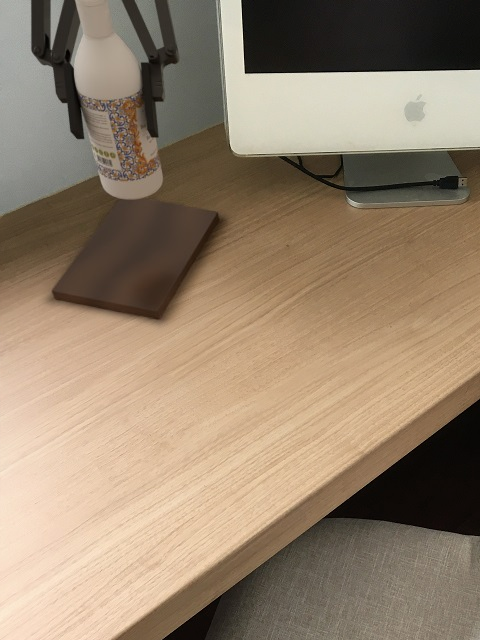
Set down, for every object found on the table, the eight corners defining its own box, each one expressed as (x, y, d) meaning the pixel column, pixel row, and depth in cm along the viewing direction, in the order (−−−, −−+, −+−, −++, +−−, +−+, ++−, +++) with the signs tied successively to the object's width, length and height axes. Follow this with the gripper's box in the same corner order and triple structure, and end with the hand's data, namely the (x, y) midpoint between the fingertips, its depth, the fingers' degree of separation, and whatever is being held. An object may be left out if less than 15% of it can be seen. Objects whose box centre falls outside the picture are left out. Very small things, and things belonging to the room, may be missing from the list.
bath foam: (151, 206, 88) (109, 13, 72) (92, 196, 89) (38, 3, 73) (172, 172, 92) (137, -18, 76) (116, 163, 93) (70, -27, 77)
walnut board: (54, 298, 91) (51, 290, 90) (125, 202, 103) (123, 194, 102) (159, 319, 90) (157, 311, 89) (219, 219, 102) (218, 211, 101)
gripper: (-29, -135, 74) (3, 125, 78) (187, -132, 76) (208, 121, 80) (-1, -89, 81) (28, 147, 85) (195, -87, 83) (214, 142, 87)
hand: (115, 134), depth 82 cm, fingers closed on bath foam, 7 cm apart
